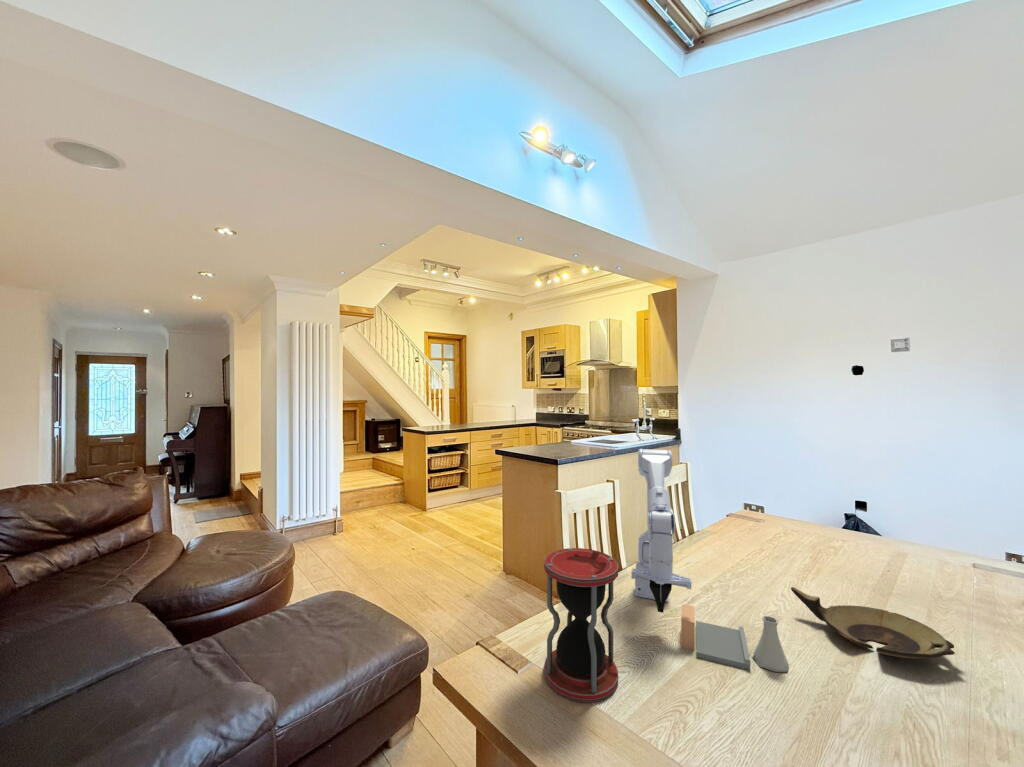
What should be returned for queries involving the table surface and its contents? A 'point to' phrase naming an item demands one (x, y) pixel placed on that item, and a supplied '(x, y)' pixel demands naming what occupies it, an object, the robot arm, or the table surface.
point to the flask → (770, 648)
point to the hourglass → (581, 625)
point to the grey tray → (722, 645)
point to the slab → (688, 626)
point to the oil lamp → (880, 629)
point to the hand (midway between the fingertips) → (660, 610)
